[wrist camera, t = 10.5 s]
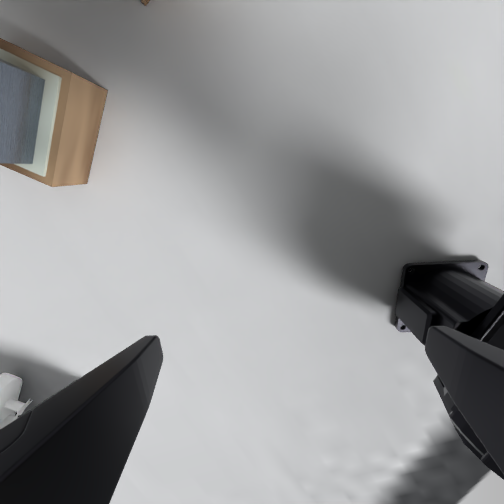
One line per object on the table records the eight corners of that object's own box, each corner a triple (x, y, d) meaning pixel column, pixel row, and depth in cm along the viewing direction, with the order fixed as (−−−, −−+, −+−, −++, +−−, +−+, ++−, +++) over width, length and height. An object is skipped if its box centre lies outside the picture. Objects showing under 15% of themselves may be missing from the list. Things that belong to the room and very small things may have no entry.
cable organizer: (16, 352, 26) (-168, 491, 15) (114, 390, 27) (12, 545, 16) (-3, 441, 30) (-155, 599, 19) (81, 470, 31) (-16, 634, 20)
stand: (107, 90, 18) (69, 71, 14) (87, 183, 20) (49, 187, 16) (7, 42, 17) (-59, 9, 13) (-3, 144, 19) (-62, 139, 16)
